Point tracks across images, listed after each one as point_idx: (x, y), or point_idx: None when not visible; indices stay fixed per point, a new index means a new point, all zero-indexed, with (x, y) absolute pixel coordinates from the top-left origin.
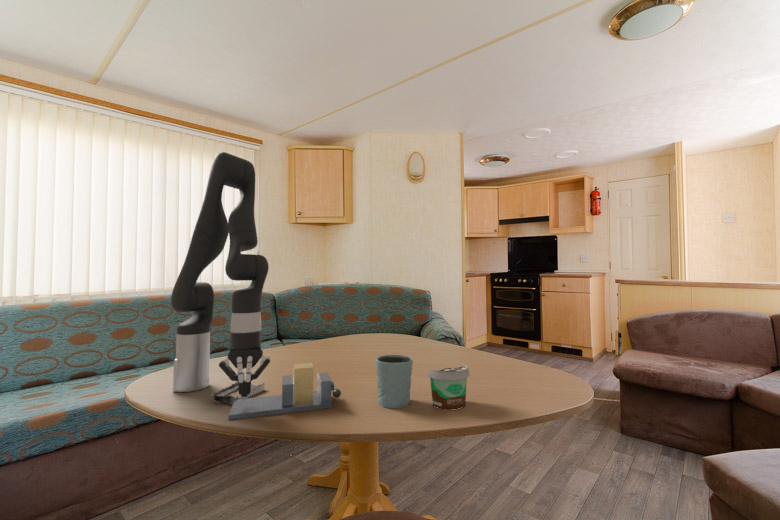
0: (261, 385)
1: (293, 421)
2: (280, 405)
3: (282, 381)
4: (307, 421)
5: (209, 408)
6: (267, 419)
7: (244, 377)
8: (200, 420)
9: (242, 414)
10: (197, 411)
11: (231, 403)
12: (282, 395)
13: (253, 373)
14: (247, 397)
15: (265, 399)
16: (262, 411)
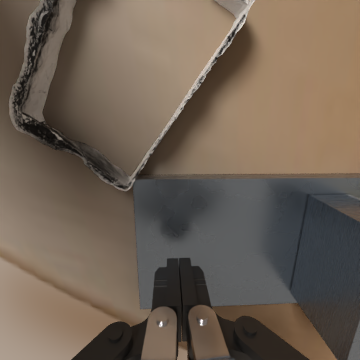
0: (236, 25)
1: (298, 336)
2: (287, 278)
3: (357, 328)
4: None
5: (52, 191)
6: (241, 314)
7: (176, 321)
8: (62, 280)
9: None
10: (19, 208)
11: (121, 169)
12: (314, 325)
13: (236, 351)
14: (172, 116)
15: (245, 213)
16: (233, 304)
